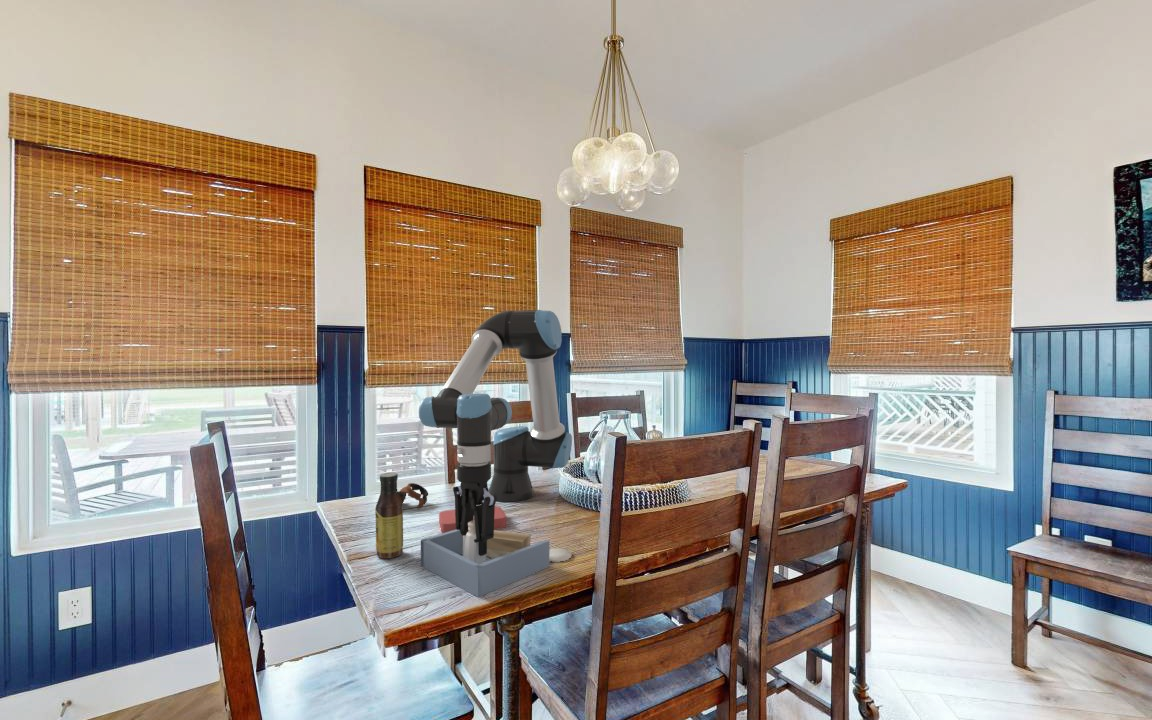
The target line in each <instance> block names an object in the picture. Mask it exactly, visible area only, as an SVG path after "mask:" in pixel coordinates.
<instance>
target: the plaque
mask: <svg viewBox="0 0 1152 720" xmlns="http://www.w3.org/2000/svg"><path fill="white" fill-rule="evenodd" d="M438 517H439V518H438V519H439V522H438V523H439V524H440V525H439V528H441V529H440V531H441V534H442V533H446V532H449V531H452V530H456V520H455V509H450V510H442V511H440V512H439V514H438ZM473 521H475V520H474V518H473ZM460 524H461V523H460ZM506 527H507V515H506V513H505V512H504V511H503V509H502V507H500V506H498V505H495V513H494V530H498V529H500V530H501V529H504V528H506Z"/></svg>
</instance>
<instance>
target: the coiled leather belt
mask: <svg viewBox="0 0 1152 720" xmlns="http://www.w3.org/2000/svg"><path fill="white" fill-rule="evenodd" d="M416 491H419V493H418V492H416ZM397 493H398V495H399V496H400V498H401V499H402V503H403V502H405V500H406V499H407V498H406V497H407V496H408V497H410V498H412V499H415V500H416V501H418V504H417V507H416V508H417V509H419V508H421V509H423V507H424V506H425V505H426V504H427V502H428V496H429V491H428V490H427V489H426V488H425V487H423V486H422V485H420V484H418V483H414V482H413V483H412V482H410V483H408V484H407V485H406V486H404V487H402V488H401V489H400V490H397ZM403 504H404V503H403Z"/></svg>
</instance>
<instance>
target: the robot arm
mask: <svg viewBox="0 0 1152 720" xmlns="http://www.w3.org/2000/svg"><path fill="white" fill-rule="evenodd" d="M562 333H563V332H562V326H561V323H560V319H559V318H558V316H557V314H556V313H555V312H553V311H552V310H542V309H535V310H534V309H533V310H532V309H531V310H527V309H526V310H503V311H500V312H498V313H496V314H493V315H492V316H490V317H489V318H487V319H486V320H485V321H483V322H482V323H481V324H480V325H479V326H477V329H475V331H474V333H473V334H472V336H471V340H470V341H471V344H469V346H468V348H467V350H466V351H465V353H464V354H463V355H462V357H461V359H460V360H459V362H458V364H457V365H456V366H455V368H454V370H453V371H452V373H451V374H450V375H449V378H448V379H447V380H446V382H445V384H444V385H443V387H442V388H441V389H440V390H439V392H438V393H437V395H436V396H433V395H432V396H430V397H429V396H428V397H425V398H423V399H422V400H421V402H420V403H419V406H418V418H419V421H420V423H421V424H422V425H423V426H425V427H429V428H437V429H457V430H456V432H457V441H456V442H457V443H456V444H457V445H456V446H457V450H456V451H457V452H456V453H457V454H456V455H457V458H456V459H457V462H458V464H457V465H456V480H457V481H458V482H459V483H460V485H458V486H457V485H456V486H453V488H452V491H453V496H454V510H455V520H456V529H457V530H460V533H461V535H462V547H463V554H462V556H463V557H464V549H465V539H466V534H467V532H468V531H469V530H468V522H470V521H473V518H474V520H475V529H476V538H477V539H475V540H474V562H476V563H478V564H482V563H484V562H487V556H486V554H487V540H488V539H491V538H493V537H494V530H495V529H494V513H495V506H496V503H497V501H498V502H520V501H526V500H528V499H530V498H532V497H533V495H534V487H533V485H532V480H531V477H530V475H529V467H535V468H538V467H539V468H552V469H556V468H557V469H562V468H565V467H566V466H567V464H568V463H569V461H570V456H571V452H572V445H573V444H572V443H573V437H572V433H570V432H566V426H565V425H564V424H563V423H561V422H560V413H559V405H558V393H557V387H556V385H557V384H556V377H555V376H556V375H555V374H556V373H555V369H554V368H555V367H554V366H555V365H554V356H555V355H556V354H557V352H558V349H559V348H561V346H562V345H561V344H562V335H563V334H562ZM506 349H512V350H513V349H516V350H518V352H519V357H520V358H521V359H523V360H524V361H525V367H526V368H525V369H526V376H527V384H528V391H529V392H528V393H529V398H530V399H529V400H530V407H531V408H530V409H531V414H532V423H533V426H532V427H531V428H530V429H529V427H528V426H524V425H522V426H521V425H520V426H519V425H518V426H512V427H506V428H503V427H504V426H505V425H508V423H509V422H510V421H511V419H512V415H513V410H512V406H511V404H510V403H509V402H508V401H507V399H506V398H505V399H504V398H502V397H491V396H490V395H489V394H488V393H480V392H479V393H478V392H477V393H474V392H475V390H476V389H477V386H478V385H479V383H480V381H481V380H482V378H483V376H484V374H485V373H486V371H487V370H488V368H489V366H490V365H491V363H492V361H493V359H494V357H496V356H498V355H499V354H500V353H502V350H506ZM495 430H496V432H494V435H493V443H492V432H493V431H495ZM492 445H493V475H492V464H491V463H490V462H491V461H492ZM491 478H492V479H491ZM490 480H491V482H490V484H489V485H490V486H488V482H489V481H490ZM460 523H461V524H460ZM481 534H482V535H481Z"/></svg>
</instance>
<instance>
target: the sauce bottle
mask: <svg viewBox="0 0 1152 720" xmlns="http://www.w3.org/2000/svg"><path fill="white" fill-rule="evenodd" d="M379 481H380V491H379V492H380V494H379V497H378V499H377V502H376V505H375V507H374V508H375V509H374V510H375V550H376V554H377V555H376V556H377V557H378V558H380V559H394V558H397V557H399V556H400V555H402V554H403V551H404V550H403V549H404V548H403V547H404V511H403V504H402V499H401V498H400V496H399V495H398V493H397V491H398V473H397V472H393V471H392V472H385V473H381V474H380V475H379Z"/></svg>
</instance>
